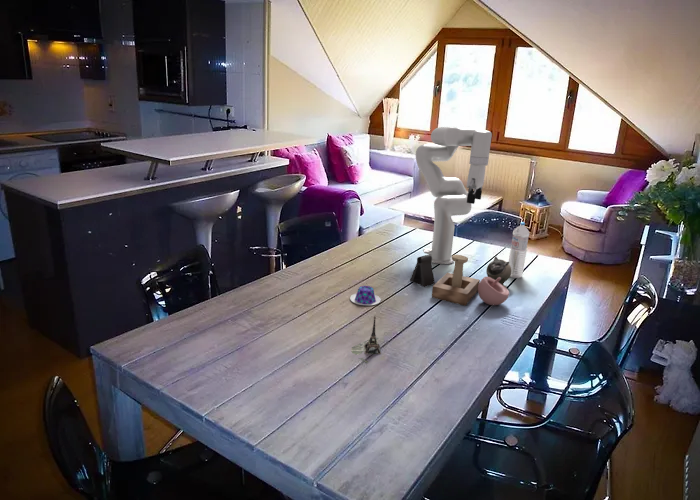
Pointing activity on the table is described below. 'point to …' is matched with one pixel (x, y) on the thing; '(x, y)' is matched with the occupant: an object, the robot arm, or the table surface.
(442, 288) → the socket block
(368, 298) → the pudding
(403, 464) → the table surface
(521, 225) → the water bottle
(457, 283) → the handle
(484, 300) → the mortar and pestle
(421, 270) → the door stopper
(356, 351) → the eiffel tower figurine
